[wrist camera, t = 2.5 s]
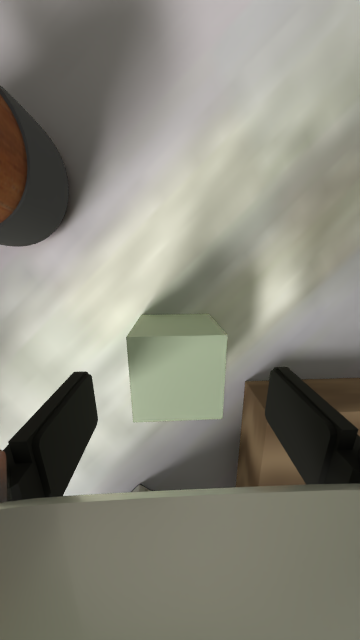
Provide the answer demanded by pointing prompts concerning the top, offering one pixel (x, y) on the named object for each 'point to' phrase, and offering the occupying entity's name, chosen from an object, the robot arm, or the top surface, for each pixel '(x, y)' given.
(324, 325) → the top surface
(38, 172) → the mug
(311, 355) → the top surface
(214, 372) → the sage cube
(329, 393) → the walnut block
